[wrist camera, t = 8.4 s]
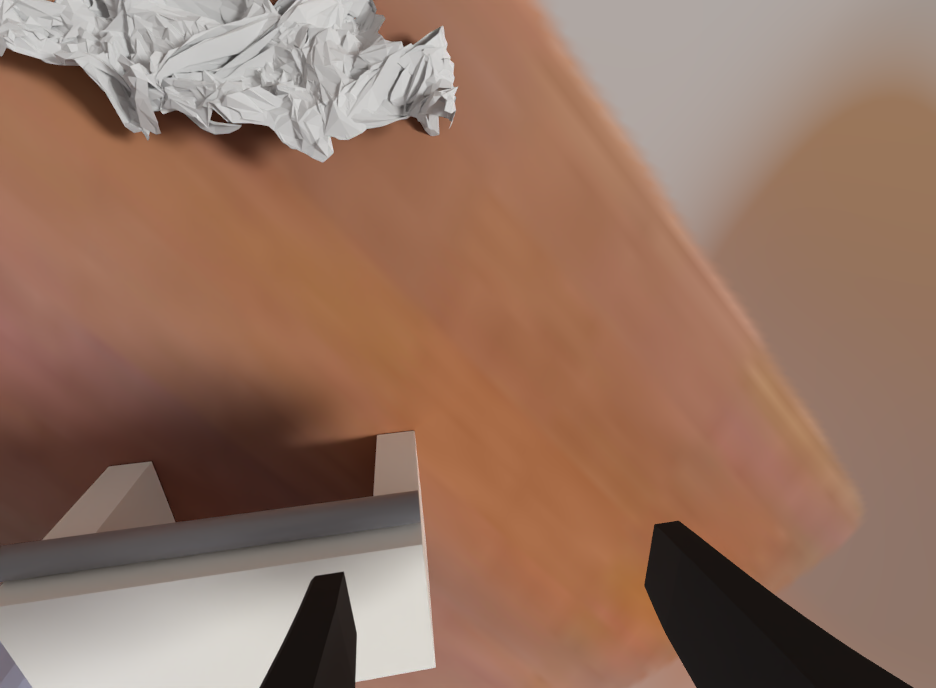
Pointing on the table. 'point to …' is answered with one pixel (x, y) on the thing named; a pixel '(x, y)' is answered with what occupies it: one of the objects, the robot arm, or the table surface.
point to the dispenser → (214, 583)
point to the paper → (243, 63)
